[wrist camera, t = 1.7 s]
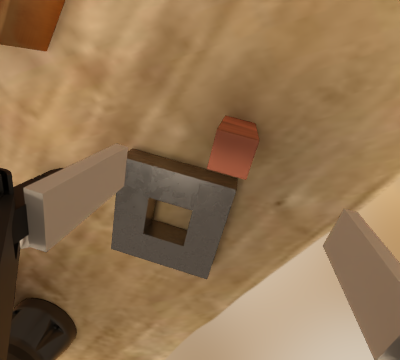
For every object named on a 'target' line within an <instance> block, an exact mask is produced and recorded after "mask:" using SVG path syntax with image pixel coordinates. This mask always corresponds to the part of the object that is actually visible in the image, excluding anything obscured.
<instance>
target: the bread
mask: <svg viewBox="0 0 400 360" xmlns="http://www.w3.org/2000/svg"><path fill="white" fill-rule="evenodd" d="M64 2H65V0H0V44H1V45H8V46H15V47H21V48H28V49H34V50H41V51H47V49H48V46H49V44H50V41H51V38H52V35H53V32H54V30H55V27H56V24H57V21H58V19H59V16H60V13H61V10H62V8H63V5H64Z"/></svg>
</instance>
